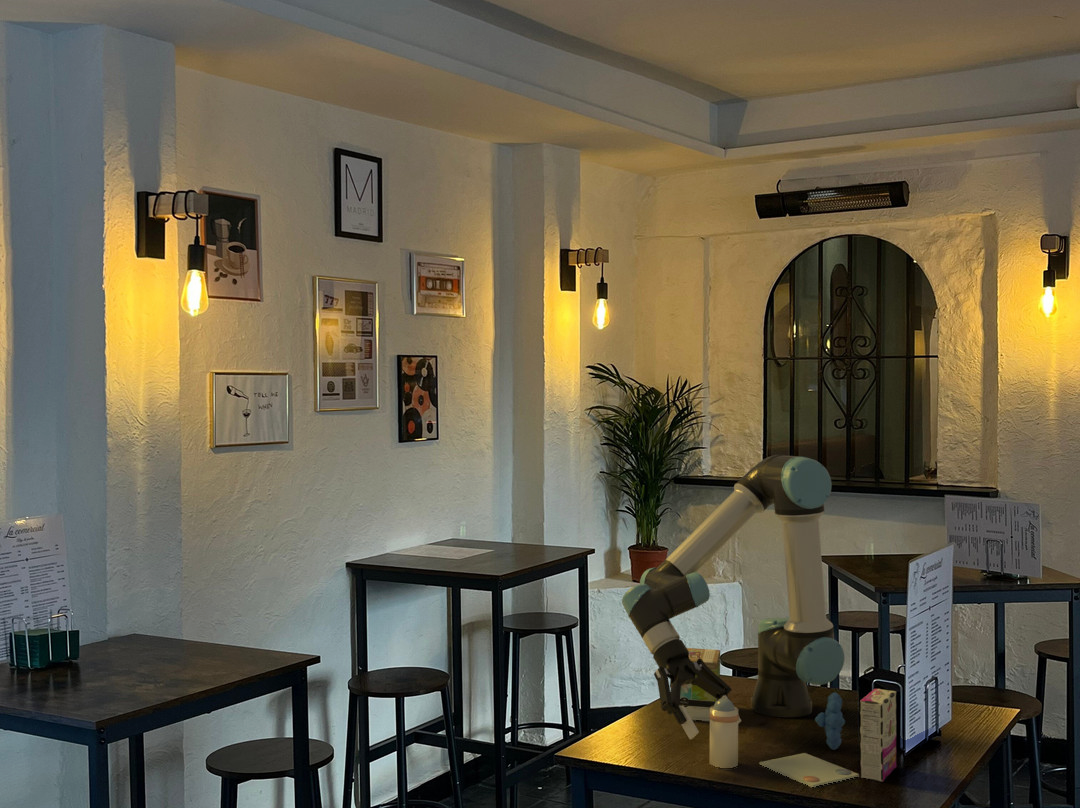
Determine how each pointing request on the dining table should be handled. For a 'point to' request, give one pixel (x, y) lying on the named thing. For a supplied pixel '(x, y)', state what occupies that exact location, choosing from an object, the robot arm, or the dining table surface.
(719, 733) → the ball tube
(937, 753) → the dining table surface
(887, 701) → the candy bar box
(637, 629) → the robot arm
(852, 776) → the card
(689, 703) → the tea box
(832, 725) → the grapes
